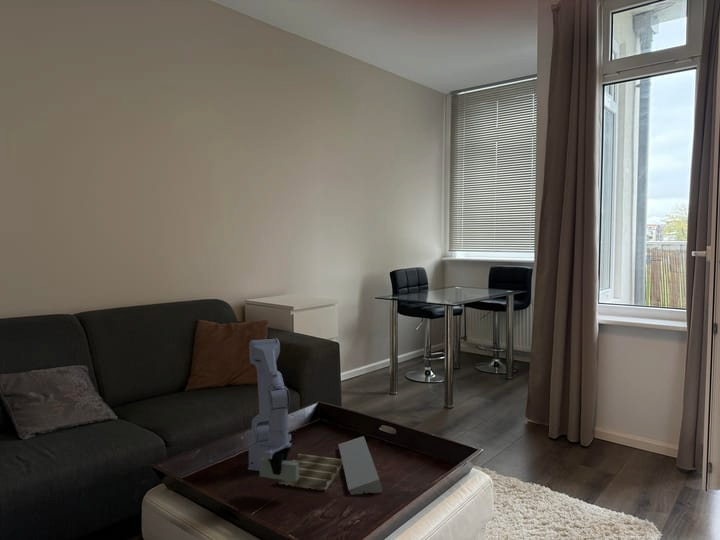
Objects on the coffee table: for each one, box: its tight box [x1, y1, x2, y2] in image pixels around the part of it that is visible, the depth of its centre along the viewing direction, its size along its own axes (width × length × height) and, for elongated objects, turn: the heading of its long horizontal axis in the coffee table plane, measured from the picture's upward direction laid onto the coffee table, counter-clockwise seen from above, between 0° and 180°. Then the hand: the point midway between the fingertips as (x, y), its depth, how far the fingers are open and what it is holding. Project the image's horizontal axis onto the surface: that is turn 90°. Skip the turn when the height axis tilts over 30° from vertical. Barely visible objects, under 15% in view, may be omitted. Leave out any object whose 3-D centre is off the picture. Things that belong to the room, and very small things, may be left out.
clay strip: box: [259, 457, 299, 482], centre depth 154 cm, size 12×2×5 cm, turn 74°
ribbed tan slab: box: [278, 453, 344, 492], centre depth 167 cm, size 16×17×3 cm
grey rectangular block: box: [338, 435, 383, 496], centre depth 172 cm, size 34×5×10 cm
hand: (278, 471), depth 154 cm, fingers closed on clay strip, 2 cm apart
